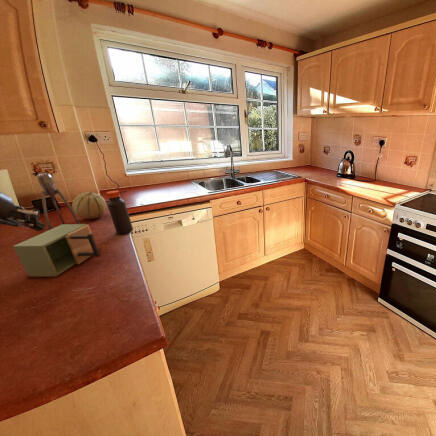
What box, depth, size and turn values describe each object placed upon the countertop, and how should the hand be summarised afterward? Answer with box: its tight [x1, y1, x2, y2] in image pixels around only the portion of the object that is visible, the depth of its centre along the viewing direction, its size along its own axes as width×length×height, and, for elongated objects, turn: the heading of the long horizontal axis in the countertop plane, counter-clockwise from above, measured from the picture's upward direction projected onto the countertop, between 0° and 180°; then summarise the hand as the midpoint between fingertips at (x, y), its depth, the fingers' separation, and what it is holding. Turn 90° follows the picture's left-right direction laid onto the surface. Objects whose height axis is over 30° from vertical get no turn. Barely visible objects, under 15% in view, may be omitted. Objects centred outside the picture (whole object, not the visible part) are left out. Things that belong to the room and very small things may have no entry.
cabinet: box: [12, 223, 93, 278], centre depth 90 cm, size 11×18×12 cm, turn 179°
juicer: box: [36, 172, 81, 230], centre depth 111 cm, size 10×11×30 cm
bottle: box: [105, 190, 134, 235], centre depth 114 cm, size 7×7×20 cm
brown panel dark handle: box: [65, 227, 101, 265], centre depth 92 cm, size 9×9×12 cm
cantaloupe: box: [71, 191, 108, 220], centre depth 134 cm, size 15×15×15 cm
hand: (42, 228), depth 74 cm, fingers closed
